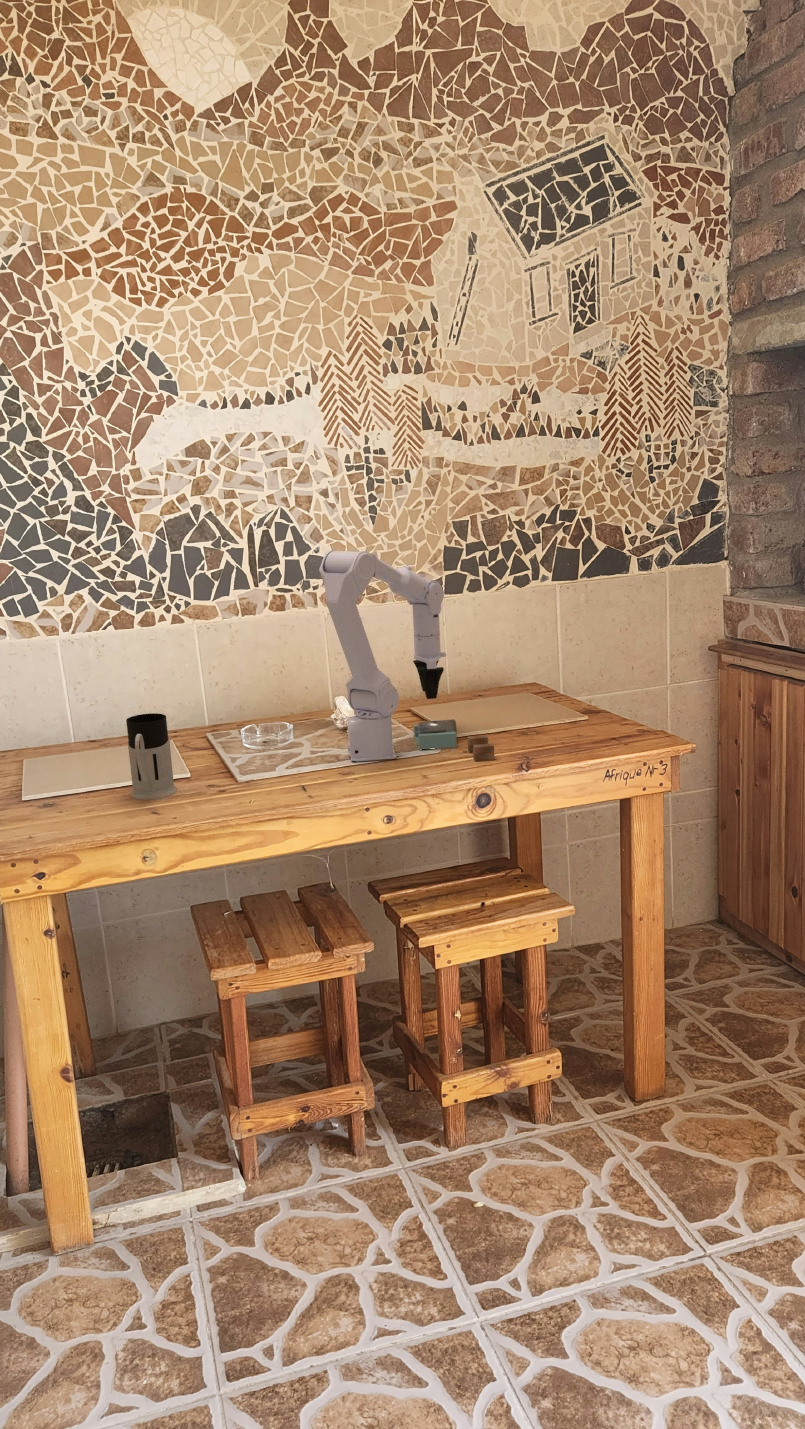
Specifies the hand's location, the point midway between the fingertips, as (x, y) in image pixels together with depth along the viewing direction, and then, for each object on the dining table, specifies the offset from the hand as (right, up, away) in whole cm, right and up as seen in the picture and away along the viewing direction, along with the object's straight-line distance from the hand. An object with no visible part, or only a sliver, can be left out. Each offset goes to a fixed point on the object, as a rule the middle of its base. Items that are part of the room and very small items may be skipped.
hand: (429, 694), depth 241 cm
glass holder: (-54, -20, -32) cm, 66 cm away
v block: (+1, -11, -4) cm, 11 cm away
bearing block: (+10, -13, -15) cm, 22 cm away
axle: (+2, -10, -4) cm, 11 cm away
